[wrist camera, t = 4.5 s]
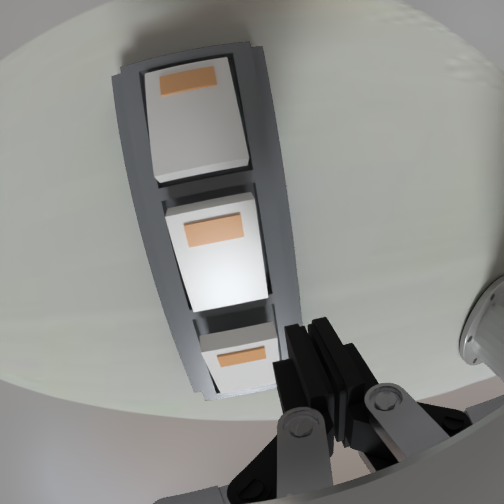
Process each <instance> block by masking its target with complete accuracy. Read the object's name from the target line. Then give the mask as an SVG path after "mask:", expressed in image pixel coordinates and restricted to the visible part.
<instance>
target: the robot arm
mask: <svg viewBox="0 0 504 504" xmlns="http://www.w3.org/2000/svg"><path fill="white" fill-rule="evenodd" d="M284 330H285V337H286V344H287V351H288V358H289V359H285V360H281V361H276V362H272V364H273V370H274V375H275V380H276V385H277V390H278V394H279V398H280V403H281V407H282V411H283V415H282V416H281V417H280V419H279V420H278V425H277V435H276V437H275V438H274V439H273V440H272V441H271V442H270V443H269V444H268V445H267V446H266V447H265V448H264V450H262V452H260V453H259V455H257V457H256V458H255V459H254V460H253V461H252V462H251V463H250V464H249V465H248V466H247V467H246V468H245V469H244V470H243V471H241V472H240V473H239V474H238V475H237V476H236V477H235V478H234V479H233V480H232V482H231V483H230V484H229V485H226V486H222V487H218V486H214V487H210V488H206V489H202V490H198V491H194V492H190V493H185V494H181V495H176V496H171V497H166V498H162V499H159V500H157V501H156V502H155V503H153V504H504V395H502V396H499V397H497V398H494V399H491V400H489V401H486V402H483V403H480V404H477V405H475V406H471V407H468V408H466V409H465V411H464V412H462V411H459V410H456V409H450V408H445V407H439V406H434V405H429V404H424V403H419V402H416V401H415V400H414V399H413V398H412V397H411V396H410V395H409V394H408V393H407V392H406V391H405V390H404V389H403V388H402V387H400V386H399V385H396V384H393V383H380V384H379V383H378V382H377V380H376V379H375V377H374V375H373V374H372V372H371V371H370V369H369V367H368V366H367V364H366V363H365V361H364V360H363V358H362V356H361V355H360V353H359V352H358V350H357V349H356V347H355V346H354V344H353V343H349V344H346V345H343V344H342V342H341V341H340V339H339V337H338V336H337V334H336V332H335V331H334V329H333V327H332V326H331V324H330V322H329V321H328V319H327V318H326V317H323V318H318V319H314V320H312V324H309V325H308V333H307V331H306V328H305V326H299V324H298V323H297V324H293V325H288V326H284ZM459 350H460V356H461V358H462V359H463V360H464V361H465V362H466V363H467V364H469V365H477V364H480V363H482V362H484V363H485V364H486V365H487V366H488V367H489V368H490V369H491V370H492V371H493V372H494V373H495V374H496V375H497V376H498V377H499V378H500V379H501V380H502V381H503V382H504V276H502V277H501V278H499V279H497V280H496V281H495V282H494V283H493V284H491V285H490V286H489V288H488V289H487V290H486V291H485V292H484V293H483V295H482V296H481V297H480V299H479V300H478V302H477V303H476V305H475V307H474V308H473V310H472V312H471V314H470V316H469V317H468V320H467V322H466V324H465V327H464V330H463V333H462V336H461V340H460V349H459ZM334 436H335V438H336V441H337V442H339V441H342V443H343V445H344V448H346V447H349V446H350V448H352V449H355V450H358V453H359V456H360V458H361V459H362V460H363V462H364V463H365V465H366V466H367V468H368V469H369V471H370V472H371V474H368V475H365V476H363V477H360V478H357V479H354V480H351V481H347V482H344V483H341V484H337V485H334V486H333V480H332V471H331V464H330V457H331V456H332V454H333V447H334Z"/></svg>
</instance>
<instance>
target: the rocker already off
mask: <svg viewBox="0 0 504 504" xmlns="http://www.w3.org/2000/svg"><path fill="white" fill-rule="evenodd" d="M199 337H200V348H201V354H202V356H203V358H204V360H205V362H206V364H207V366H208V369H209V371H210V373H211V375H212V377H213V379H214V381H215V383H216V385H217V387H218V389H219V391H220V393H221V394H222V393H228V392H234V391H239V390H245V389H250V388H255V387H260V386H265V385H269V384H274V383H276V380H275V375H274V370H273V364H272V362H276V361H279V352H278V339H277V334H276V331H275V327H274V324H273V321H272V322H268V323H263V324H258V325H253V326H248V327H243V328H238V329H233V330H228V331H223V332H217V333H212V334H206V335H201V336H199Z"/></svg>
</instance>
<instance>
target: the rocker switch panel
mask: <svg viewBox="0 0 504 504" xmlns="http://www.w3.org/2000/svg"><path fill="white" fill-rule="evenodd" d="M224 57H227V58H228V63H229V67H230V72H231V76H232V81H233V85H234V90H235V94H236V99H237V104H238V108H239V113H240V117H241V122H242V127H243V131H244V136H245V141H246V145H247V150H248V155H249V161H248V165H247V166H241V167H235V168H230V169H224V170H219V171H214V172H209V173H204V174H199V175H194V176H189V177H184V178H180V179H175V180H171V181H166V182H162V183H160V182H159V181H158V180H157V179H156V178H155V177H154V172H153V164H152V156H151V147H150V137H149V127H148V116H147V103H146V89H145V74H146V73H149V72H153V71H157V70H161V69H165V68H170V67H174V66H179V65H184V64H189V63H194V62H199V61H205V60H211V59H217V58H224ZM120 68H121V74H117V75H114V76H111V77H112V85H113V93H114V101H115V108H116V115H117V121H118V128H119V134H120V139H121V145H122V151H123V156H124V161H125V166H126V171H127V176H128V181H129V185H130V190H131V194H132V199H133V203H134V207H135V212H136V216H137V220H138V224H139V228H140V232H141V235H142V239H143V243H144V247H145V250H146V254H147V257H148V261H149V264H150V268H151V271H152V275H153V278H154V281H155V285H156V288H157V291H158V294H159V297H160V300H161V304H162V307H163V310H164V313H165V316H166V319H167V322H168V324H169V327H170V330H171V333H172V336H173V339H174V341H175V344H176V347H177V350H178V352H179V355H180V358H181V360H182V363H183V366H184V368H185V371H186V373H187V376H188V378H189V381H190V383H191V386H192V388H193V391H194V393H195V392H202V393H203V396H204V398H205V401H207V400H214V399H221V398H227V397H232V396H238V395H244V394H249V393H254V392H259V391H264V390H268V389H273V388H277V385H276V383H274V384H269V385H265V386H260V387H255V388H250V389H245V390H239V391H234V392H228V393H222V394H221V393H220V391H219V389H218V387H217V385H216V383H215V381H214V379H213V377H212V375H211V373H210V371H209V369H208V366H207V364H206V362H205V360H204V358H203V356H202V354H201V348H200V337H199V336H201V335H206V334H212V333H217V332H223V331H228V330H233V329H238V328H243V327H248V326H253V325H258V324H263V323H268V322H272V321H273V324H274V327H275V331H276V334H277V339H278V352H279V361H281V360H285V359H289V358H288V351H287V344H286V337H285V330H284V326H288V325H293V324H297V323H298V324H299V326H302V316H301V306H300V296H299V286H298V277H297V268H296V259H295V251H294V243H293V234H292V226H291V219H290V211H289V204H288V196H287V189H286V182H285V175H284V168H283V162H282V155H281V149H280V142H279V136H278V130H277V124H276V118H275V112H274V106H273V100H272V94H271V89H270V83H269V78H268V72H267V67H266V62H265V56H264V51H263V46H258V47H251V46H250V41H248V42H239V43H230V44H223V45H216V46H209V47H203V48H198V49H192V50H187V51H182V52H177V53H173V54H168V55H164V56H160V57H156V58H152V59H148V60H144V61H140V62H137V63H133V64H130V65H127V66H123V67H120ZM247 192H251V193H252V195H253V197H254V199H255V204H256V211H257V219H258V226H259V233H260V240H261V247H262V254H263V262H264V269H265V276H266V284H267V291H268V298H265V299H260V300H255V301H250V302H245V303H240V304H235V305H230V306H225V307H220V308H215V309H209V310H204V311H198V312H193V309H192V306H191V303H190V300H189V297H188V294H187V290H186V287H185V284H184V281H183V278H182V274H181V271H180V268H179V265H178V261H177V258H176V254H175V251H174V248H173V244H172V241H171V237H170V233H169V230H168V226H167V223H166V219H165V215H166V212H167V208H172V207H176V206H181V205H186V204H191V203H195V202H200V201H205V200H210V199H215V198H220V197H226V196H231V195H236V194H242V193H247Z"/></svg>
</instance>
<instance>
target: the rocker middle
mask: <svg viewBox="0 0 504 504" xmlns="http://www.w3.org/2000/svg"><path fill="white" fill-rule="evenodd" d="M165 219H166V223H167V226H168V230H169V233H170V237H171V241H172V244H173V248H174V251H175V254H176V258H177V261H178V265H179V268H180V271H181V274H182V278H183V281H184V284H185V287H186V290H187V294H188V297H189V300H190V303H191V306H192V309H193V312H198V311H204V310H209V309H215V308H220V307H225V306H230V305H235V304H240V303H245V302H250V301H255V300H260V299H265V298H268V291H267V284H266V276H265V269H264V262H263V254H262V247H261V240H260V233H259V226H258V219H257V211H256V204H255V199H254V197H253V195H252V193H251V192H247V193H242V194H236V195H231V196H226V197H220V198H215V199H210V200H205V201H200V202H195V203H191V204H186V205H181V206H176V207H172V208H167V212H166V215H165Z"/></svg>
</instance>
